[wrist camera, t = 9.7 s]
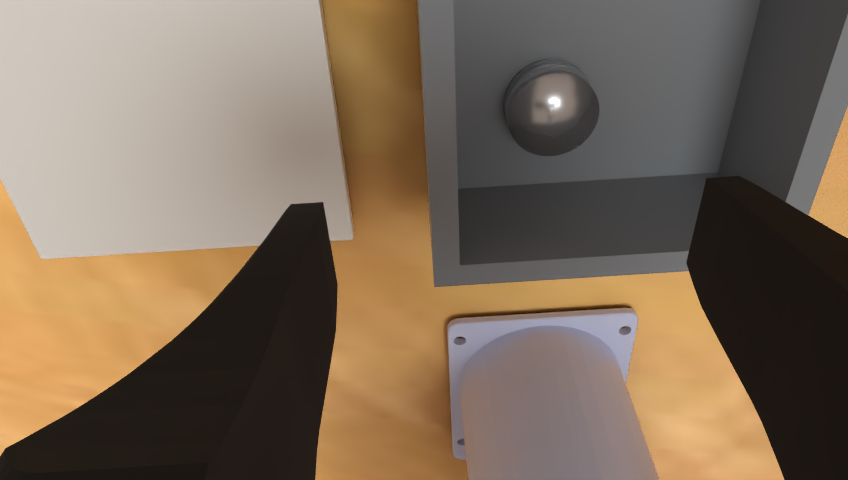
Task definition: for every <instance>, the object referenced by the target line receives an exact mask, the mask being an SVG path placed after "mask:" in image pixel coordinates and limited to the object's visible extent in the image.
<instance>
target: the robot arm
mask: <svg viewBox="0 0 848 480" xmlns="http://www.w3.org/2000/svg"><path fill="white" fill-rule="evenodd" d="M686 264H687V267H688V270H689V273H690V276H691V279H692V282H693V285H694V288H695V290H696V293H697V296H698V298H699V301H700V304H701V306H702V309H703V310H704V312H705V314H706V316H707V318H708V320H709V322H710V324H711V326H712V328H713V330H714V332H715V334H716V336H717V337H718V339H719V341H720V343H721V345H722V347H723V349H724V350H725V352H726V354H727V356H728V358H729V360H730V362H731V363H732V365H733V367H734V369H735V371H736V373H737V375H738V376H739V378H740V380H741V382H742V384H743V386H744V388H745V389H746V391H747V393H748V395H749V397H750V399H751V401H752V403H753V405H754V407H755V409H756V411H757V413H758V415H759V417H760V419H761V421H762V424H763V426H764V428H765V431H766V433H767V436H768V438H769V441H770V443H771V446H772V449H773V451H774V454H775V456H776V459H777V461H778V464H779V466H780V469H781V471H782V474H783V477H784V480H848V238H846V237H844V236H842V235H840V234H839V233H837V232H835V231H834V230H832V229H830V228H828V227H827V226H825V225H823V224H822V223H820V222H818V221H816V220H815V219H813V218H811V217H810V216H808V215H806V214H805V213H803V212H801V211H800V210H798V209H796V208H795V207H793V206H791V205H790V204H788V203H786V202H785V201H783V200H782V199H780V198H778V197H777V196H775V195H773V194H771V193H770V192H768V191H766V190H765V189H763V188H761V187H759V186H758V185H756V184H754V183H752V182H750V181H748V180H746V179H744V178H742V177H740V176H729V177H713V178H706V182H705V186H704V190H703V194H702V199H701V203H700V207H699V211H698V215H697V220H696V224H695V228H694V232H693V236H692V241H691V245H690V249H689V253H688V257H687V262H686ZM336 313H337V279H336V274H335V268H334V262H333V256H332V250H331V244H330V238H329V233H328V227H327V221H326V215H325V209H324V203H323V202H316V203H300V204H291V205H290V206H289V207H288V208H287V209H286V210H285V212H284V213H283V214H282V216H281V217H280V219H279V220H278V221H277V223H276V224H275V226H274V227H273V228H272V230H271V231H270V233H269V234H268V235H267V237H266V238H265V239H264V241H263V242H262V243H261V245H260V246H259V247H258V249H257V250H256V251H255V252H254V254H253V255H252V256H251V258H250V259H249V260H248V261H247V263H246V264H245V265H244V266H243V268H242V269H241V270H240V271H239V273H238V274H237V275H236V276H235V277H234V278H233V280H232V281H231V282H230V283H229V284H228V285H227V286H226V287H225V288H224V290H223V291H222V292H221V293H220V294H219V295H218V296H217V297H216V299H215V300H214V301H213V302H212V303H211V304H210V305H209V306H208V307H207V308H206V309H205V310H204V311H203V312H202V313H201V314H200V315H199V316H198V317H197V318H196V319H195V320H194V321H193V322H192V323H191V324H190V325H189V326H187V327H186V328H185V329H184V330H183V331H182V332H181V333H180V334H179V335H178V336H176V337H175V338H174V339H173V340H172V341H171V342H169V343H168V344H167V345H166V346H164V347H163V348H162V349H160V350H159V351H158V352H157V353H155V354H154V355H153V356H151V357H150V358H149V359H148V360H146V361H145V362H144V363H143V364H141V365H140V366H139V367H137V368H136V369H135V370H134V371H132V372H131V373H130V374H128V375H127V376H125V377H124V378H122V379H121V380H120V381H118V382H117V383H115V384H114V385H112V386H111V387H109V388H108V389H107V390H105V391H103V392H102V393H100V394H99V395H97V396H96V397H94V398H93V399H91V400H90V401H88V402H86V403H85V404H83V405H82V406H80V407H78V408H77V409H75V410H74V411H72V412H70V413H69V414H67V415H65V416H63V417H62V418H60V419H58V420H56V421H55V422H53V423H51V424H49V425H47V426H46V427H44V428H42V429H40V430H38V431H37V432H35V433H33V434H31V435H30V436H28V437H26V438H24V439H22V440H21V441H19V442H17V443H15V444H13V445H11V446H9V447H7V448H5V450H4V452H3V453H2V455H1V456H0V480H315V473H316V456H317V445H318V437H319V429H320V423H321V417H322V411H323V405H324V399H325V393H326V387H327V381H328V375H329V369H330V363H331V357H332V351H333V344H334V338H335V332H336ZM637 324H638V316H637V314H636V312H635V311H634V310H633V309H631V308H613V309H597V310H581V311H565V312H549V313H533V314H517V315H501V316H485V317H469V318H457V319H453V320H452V321H450V322H449V324H448V326H447V333H448V357H449V380H450V404H451V428H452V450H453V456H454V457H455V458H456V459H459V460H466V463H467V473H468V480H659V477H658V474H657V472H656V469H655V466H654V463H653V460H652V457H651V455H650V452H649V449H648V446H647V443H646V440H645V438H644V435H643V432H642V429H641V426H640V423H639V421H638V418H637V415H636V412H635V409H634V406H633V404H632V401H631V398H630V395H629V392H628V389H627V387H626V380H627V375H628V370H629V365H630V360H631V355H632V350H633V345H634V339H635V334H636V329H637ZM624 326H627V327H625V328H622V327H624ZM456 337H463V338H460V339H458V338H456Z"/></svg>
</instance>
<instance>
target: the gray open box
mask: <svg viewBox="0 0 848 480" xmlns="http://www.w3.org/2000/svg"><path fill="white" fill-rule="evenodd" d="M417 16H418V33H419V51H420V68H421V86H422V103H423V120H424V138H425V155H426V173H427V190H428V205H429V219H430V233H431V246H432V260H433V273H434V287H442V286H458V285H474V284H490V283H506V282H522V281H538V280H554V279H570V278H586V277H602V276H618V275H634V274H650V273H666V272H681V271H689V270H688V267H687V264H686V262H687V257H688V253H689V249H690V245H691V241H692V236H693V232H694V228H695V224H696V220H697V215H698V211H699V207H700V203H701V199H702V194H703V190H704V186H705V182H706V178H713V177H729V176H740V177H742V178H744V179H746V180H748V181H750V182H752V183H754V184H756V185H758V186H759V187H761V188H763V189H765V190H766V191H768V192H770V193H771V194H773V195H775V196H777V197H778V198H780V199H782V200H783V201H785V202H786V203H788V204H790V205H791V206H793V207H795V208H796V209H798V210H800V211H801V212H803V213H805V214H806V215H808V214H809V211H810V209H811V206H812V203H813V200H814V198H815V195H816V192H817V189H818V186H819V184H820V181H821V178H822V175H823V173H824V170H825V167H826V164H827V161H828V159H829V156H830V153H831V150H832V148H833V145H834V142H835V139H836V136H837V134H838V131H839V128H840V125H841V123H842V120H843V117H844V114H845V111H846V109H847V106H848V0H417ZM548 58H557V59H563V60H567V61H569V62H571V63H573V64H575V65H576V66H578V67H579V68H580V69H581V70H582V71H583V72H584V74H585V75H586V77H587V79H588V81H589V82H590V84H591V86H592V88H593V90H594V92H595V93H596V96H597V98H598V102H599V117H598V121H597V124H596V126H595V128H594V130H593V132H592V133H591V135H590V136H589V137H588V138H587V140H586V141H584V142H583V143H582V144H581V145H580V146H578V147H577V148H575V149H574V150H572V151H569V152H567V153H564V154H561V155H557V156H539V155H535V154H532V153H530V152H528V151H526V150H524V149H523V148H521V147H520V146H519V145H518V144H517V143H516V141H515V140H514V139H513V137H512V135H511V132H510V129H509V126H508V122H507V119H506V115H505V112H504V95H505V91H506V89H507V86H508V84H509V83H510V81H511V80H512V78H513V77H514V76H515V75H516V74H517V73H518V72H519V71H520V70H521V69H522V68H524V67H525V66H527V65H529V64H531V63H532V62H535V61H538V60H542V59H548Z"/></svg>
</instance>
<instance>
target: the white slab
mask: <svg viewBox="0 0 848 480" xmlns="http://www.w3.org/2000/svg"><path fill="white" fill-rule="evenodd" d="M0 179H1V181H2V183H3V185H4V187H5V189H6V191H7V193H8V195H9V197H10V198H11V200H12V202H13V204H14V206H15V208H16V210H17V212H18V214H19V216H20V218H21V220H22V222H23V224H24V226H25V228H26V230H27V232H28V234H29V236H30V238H31V240H32V242H33V244H34V246H35V248H36V250H37V252H38V254H39V256H40V258H41V259H52V258H68V257H84V256H100V255H116V254H132V253H148V252H165V251H181V250H197V249H213V248H229V247H245V246H260V245H261V243H262V242H263V241H264V239H265V238H266V237H267V235H268V234H269V233H270V231H271V230H272V228H273V227H274V226H275V224H276V223H277V221H278V220H279V219H280V217H281V216H282V214H283V213H284V212H285V210H286V209H287V208H288V207H289V206H290V205H291V204H300V203H316V202H323V203H324V209H325V215H326V221H327V227H328V233H329V238H330V241H341V240H353V238H354V226H353V219H352V211H351V204H350V197H349V190H348V183H347V176H346V169H345V162H344V155H343V148H342V141H341V134H340V127H339V120H338V113H337V106H336V99H335V92H334V85H333V78H332V70H331V63H330V56H329V49H328V42H327V35H326V28H325V21H324V14H323V7H322V0H0Z"/></svg>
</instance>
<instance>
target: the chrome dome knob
mask: <svg viewBox="0 0 848 480" xmlns="http://www.w3.org/2000/svg"><path fill="white" fill-rule="evenodd" d="M504 112H505V115H506V119H507V122H508V126H509V129H510V132H511V135H512V137H513V139H514V140H515V141H516V143H517V144H518V145H519V146H520V147H521V148H523V149H524V150H526V151H528V152H530V153H532V154H535V155H539V156H557V155H561V154H564V153H567V152H569V151H572V150H574V149H575V148H577V147H578V146H580V145H581V144H582V143H583V142H584V141H586V140H587V138H588V137H589V136H590V135H591V133H592V132H593V130H594V128H595V126H596V124H597V121H598V117H599V102H598V98H597V96H596V93H595V92H594V90H593V88H592V86H591V84H590V82H589V81H588V79H587V77H586V75H585V74H584V72H583V71H582V70H581V69H580V68H579V67H578V66H576V65H575V64H573V63H571V62H569V61H567V60H563V59H557V58H548V59H542V60H538V61H535V62H532V63H531V64H529V65H527V66H525V67H524V68H522V69H521V70H520V71H519V72H518V73H517V74H516V75H515V76H514V77H513V78H512V80H511V81H510V83H509V84H508V86H507V89H506V91H505V95H504Z"/></svg>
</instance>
